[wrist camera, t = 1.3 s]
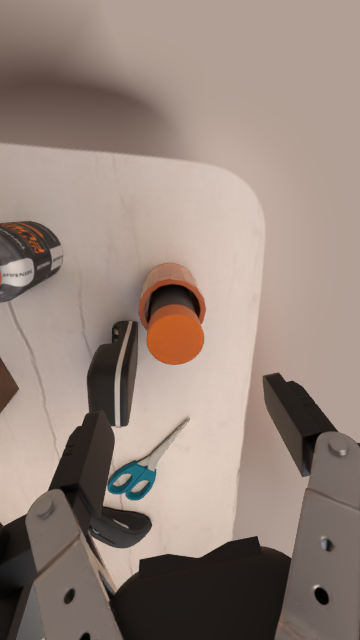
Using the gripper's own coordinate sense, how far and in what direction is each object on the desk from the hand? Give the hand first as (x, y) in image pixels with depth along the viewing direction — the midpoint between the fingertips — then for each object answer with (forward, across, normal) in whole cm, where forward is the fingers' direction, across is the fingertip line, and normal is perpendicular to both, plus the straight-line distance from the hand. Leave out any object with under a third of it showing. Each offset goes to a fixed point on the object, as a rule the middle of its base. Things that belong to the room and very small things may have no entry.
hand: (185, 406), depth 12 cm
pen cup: (+19, 0, 0) cm, 19 cm away
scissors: (+19, +9, +27) cm, 34 cm away
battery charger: (+19, +8, +5) cm, 21 cm away
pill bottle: (+19, +13, -8) cm, 25 cm away
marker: (+18, 0, 0) cm, 19 cm away
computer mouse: (+19, +23, +42) cm, 52 cm away
